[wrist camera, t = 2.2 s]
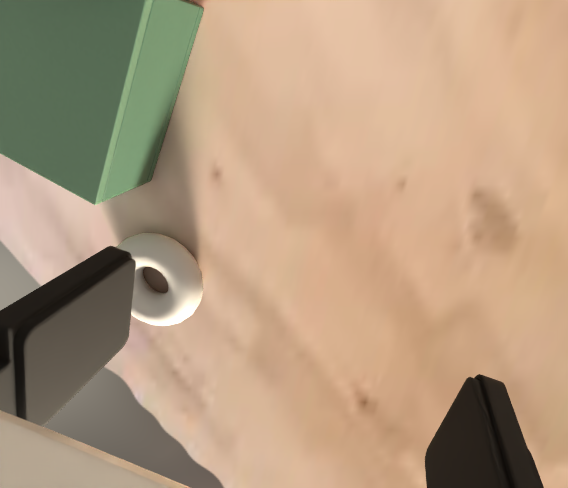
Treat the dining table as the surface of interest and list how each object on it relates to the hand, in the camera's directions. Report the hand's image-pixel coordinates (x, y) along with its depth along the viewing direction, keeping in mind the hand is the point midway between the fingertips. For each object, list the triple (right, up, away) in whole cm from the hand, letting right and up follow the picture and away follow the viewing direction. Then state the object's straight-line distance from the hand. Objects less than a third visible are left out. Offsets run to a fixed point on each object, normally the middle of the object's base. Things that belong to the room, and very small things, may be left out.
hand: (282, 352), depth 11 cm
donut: (-12, 0, +32) cm, 34 cm away
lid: (-16, +15, +18) cm, 29 cm away
